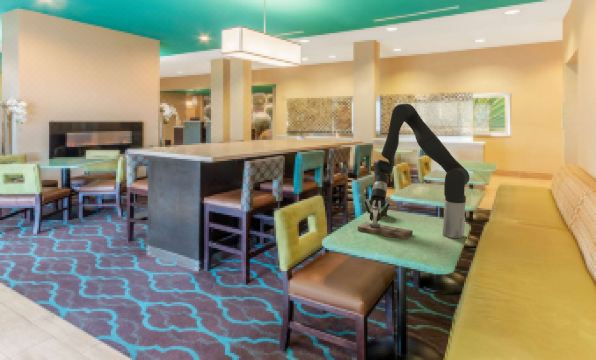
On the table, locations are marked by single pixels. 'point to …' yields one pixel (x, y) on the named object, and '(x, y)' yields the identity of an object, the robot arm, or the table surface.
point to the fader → (375, 217)
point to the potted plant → (384, 207)
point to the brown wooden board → (386, 231)
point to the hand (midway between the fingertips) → (374, 220)
